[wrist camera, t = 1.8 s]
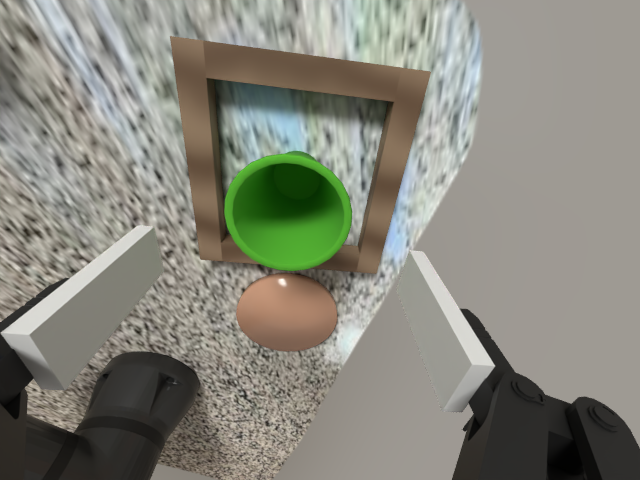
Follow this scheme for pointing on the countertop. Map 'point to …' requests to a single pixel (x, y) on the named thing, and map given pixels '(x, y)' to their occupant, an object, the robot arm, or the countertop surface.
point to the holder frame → (303, 74)
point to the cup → (288, 211)
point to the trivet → (287, 312)
